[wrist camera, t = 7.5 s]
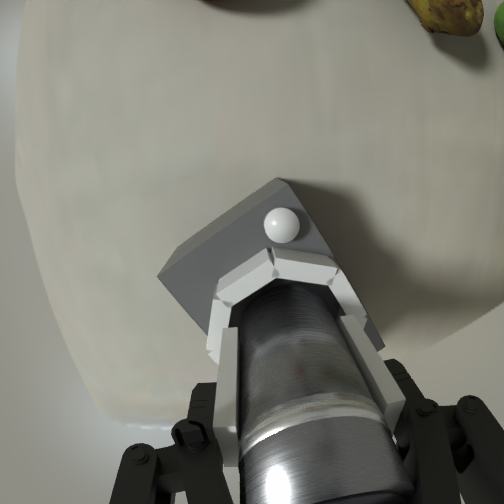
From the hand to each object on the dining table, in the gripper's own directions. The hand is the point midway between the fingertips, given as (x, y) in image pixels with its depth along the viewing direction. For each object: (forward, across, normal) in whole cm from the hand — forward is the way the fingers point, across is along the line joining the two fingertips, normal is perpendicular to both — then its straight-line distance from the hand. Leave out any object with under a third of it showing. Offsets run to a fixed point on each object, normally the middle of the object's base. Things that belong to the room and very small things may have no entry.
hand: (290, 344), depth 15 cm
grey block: (+9, 0, 0) cm, 9 cm away
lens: (+2, 0, 0) cm, 2 cm away
